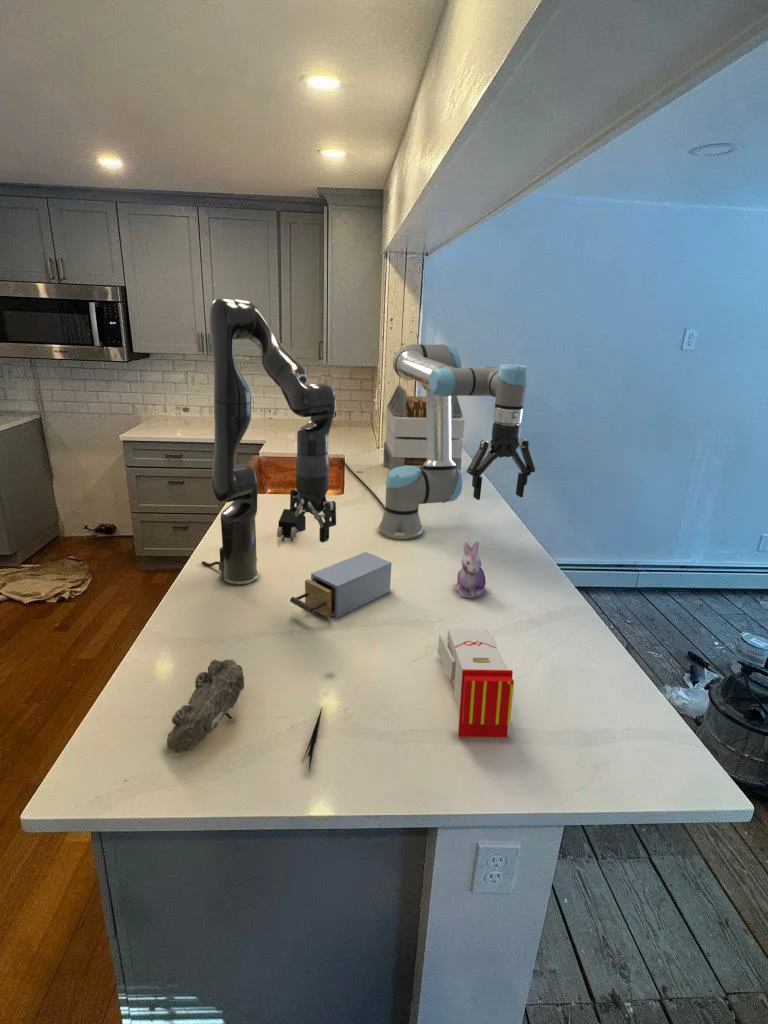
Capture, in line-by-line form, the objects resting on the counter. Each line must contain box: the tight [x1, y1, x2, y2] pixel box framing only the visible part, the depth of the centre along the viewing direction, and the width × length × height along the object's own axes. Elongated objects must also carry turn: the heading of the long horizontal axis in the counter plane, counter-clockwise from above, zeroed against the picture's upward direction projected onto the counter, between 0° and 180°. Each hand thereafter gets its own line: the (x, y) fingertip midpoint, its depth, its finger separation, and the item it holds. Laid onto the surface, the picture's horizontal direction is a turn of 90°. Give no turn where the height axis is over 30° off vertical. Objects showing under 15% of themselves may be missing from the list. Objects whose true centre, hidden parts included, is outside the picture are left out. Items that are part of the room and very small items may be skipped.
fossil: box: [166, 658, 245, 754], centre depth 106 cm, size 22×10×15 cm
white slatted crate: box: [383, 384, 465, 473], centre depth 268 cm, size 34×33×41 cm
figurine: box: [455, 540, 487, 599], centre depth 158 cm, size 9×10×15 cm
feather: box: [301, 673, 332, 771], centre depth 108 cm, size 2×28×2 cm
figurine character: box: [276, 508, 300, 543], centre depth 192 cm, size 7×8×15 cm
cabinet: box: [310, 551, 392, 618], centre depth 153 cm, size 20×10×9 cm, turn 138°
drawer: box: [289, 578, 335, 618], centre depth 149 cm, size 25×9×7 cm, turn 138°
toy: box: [437, 628, 515, 738], centre depth 117 cm, size 12×13×30 cm
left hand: (312, 536), depth 137 cm, fingers open, 8 cm apart
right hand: (498, 497), depth 161 cm, fingers open, 13 cm apart
